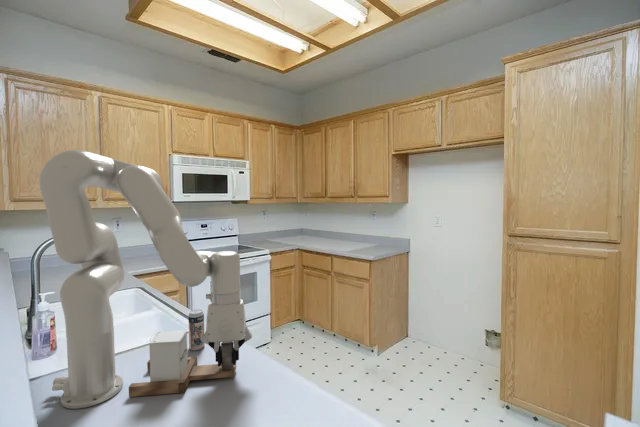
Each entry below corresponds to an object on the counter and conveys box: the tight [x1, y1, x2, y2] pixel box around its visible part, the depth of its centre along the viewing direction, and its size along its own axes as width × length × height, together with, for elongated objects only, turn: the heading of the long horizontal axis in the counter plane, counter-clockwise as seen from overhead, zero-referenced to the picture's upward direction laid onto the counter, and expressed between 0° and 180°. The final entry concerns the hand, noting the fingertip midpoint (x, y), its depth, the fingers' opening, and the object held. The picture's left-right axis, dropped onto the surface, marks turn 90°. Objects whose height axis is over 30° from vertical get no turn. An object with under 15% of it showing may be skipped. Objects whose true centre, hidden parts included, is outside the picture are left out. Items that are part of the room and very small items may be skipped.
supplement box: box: [148, 329, 188, 382], centre depth 83 cm, size 7×7×13 cm
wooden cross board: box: [128, 341, 237, 398], centre depth 85 cm, size 24×13×9 cm, turn 98°
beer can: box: [187, 309, 206, 351], centre depth 103 cm, size 5×5×12 cm
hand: (227, 362), depth 87 cm, fingers closed on wooden cross board, 3 cm apart
